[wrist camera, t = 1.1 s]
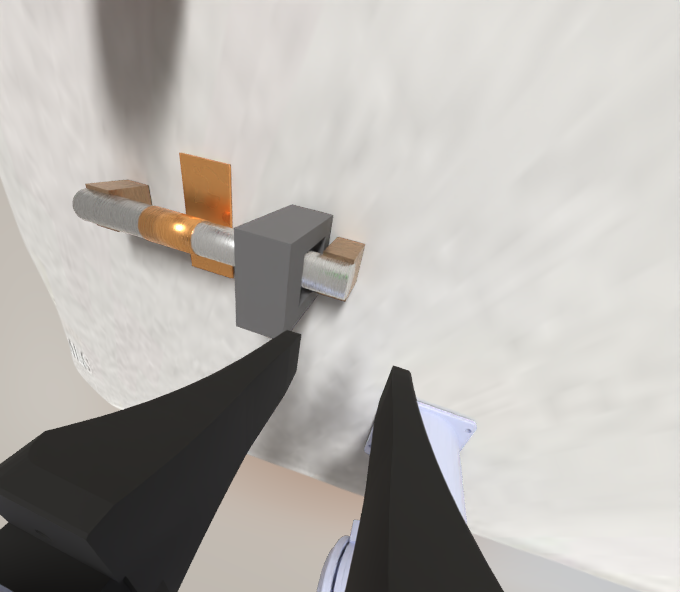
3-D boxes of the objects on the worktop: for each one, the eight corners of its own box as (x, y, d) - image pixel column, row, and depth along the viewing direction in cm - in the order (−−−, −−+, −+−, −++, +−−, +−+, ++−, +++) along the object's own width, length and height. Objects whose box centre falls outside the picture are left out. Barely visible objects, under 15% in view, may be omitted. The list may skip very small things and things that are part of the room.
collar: (333, 215, 18) (291, 244, 13) (320, 291, 21) (282, 341, 16) (292, 204, 19) (233, 228, 13) (285, 280, 22) (236, 325, 16)
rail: (375, 200, 17) (361, 214, 14) (348, 313, 22) (332, 347, 18) (118, 137, 20) (48, 134, 17) (142, 248, 25) (91, 266, 21)
